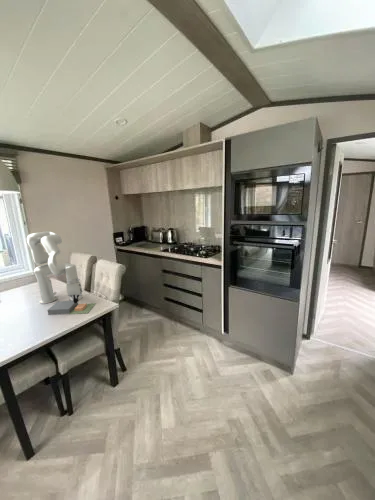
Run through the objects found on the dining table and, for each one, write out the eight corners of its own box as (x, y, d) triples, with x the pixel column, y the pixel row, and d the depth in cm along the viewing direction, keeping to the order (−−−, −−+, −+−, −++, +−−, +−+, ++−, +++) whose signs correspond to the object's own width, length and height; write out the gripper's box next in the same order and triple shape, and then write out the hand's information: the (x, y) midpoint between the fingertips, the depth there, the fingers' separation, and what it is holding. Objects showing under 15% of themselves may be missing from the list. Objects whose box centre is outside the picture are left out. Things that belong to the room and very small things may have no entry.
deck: (58, 305, 179) (57, 301, 178) (78, 304, 179) (77, 300, 178) (48, 314, 165) (47, 310, 165) (69, 313, 166) (68, 308, 165)
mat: (78, 304, 180) (78, 303, 180) (95, 303, 180) (95, 303, 180) (68, 314, 165) (68, 313, 165) (87, 313, 165) (87, 312, 165)
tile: (86, 303, 176) (87, 305, 176) (79, 303, 176) (79, 306, 176) (82, 308, 168) (82, 310, 169) (74, 308, 168) (74, 311, 168)
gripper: (84, 278, 171) (87, 300, 175) (65, 279, 171) (69, 300, 175) (80, 282, 164) (83, 304, 168) (60, 282, 163) (64, 305, 168)
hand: (76, 302), depth 171 cm, fingers closed
